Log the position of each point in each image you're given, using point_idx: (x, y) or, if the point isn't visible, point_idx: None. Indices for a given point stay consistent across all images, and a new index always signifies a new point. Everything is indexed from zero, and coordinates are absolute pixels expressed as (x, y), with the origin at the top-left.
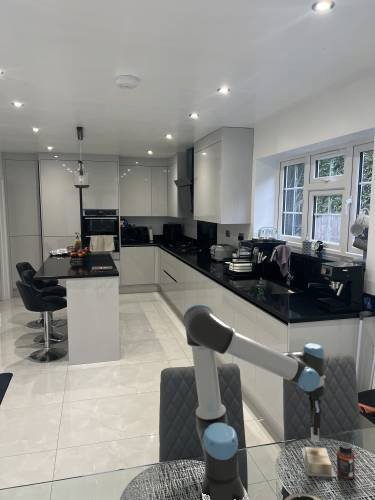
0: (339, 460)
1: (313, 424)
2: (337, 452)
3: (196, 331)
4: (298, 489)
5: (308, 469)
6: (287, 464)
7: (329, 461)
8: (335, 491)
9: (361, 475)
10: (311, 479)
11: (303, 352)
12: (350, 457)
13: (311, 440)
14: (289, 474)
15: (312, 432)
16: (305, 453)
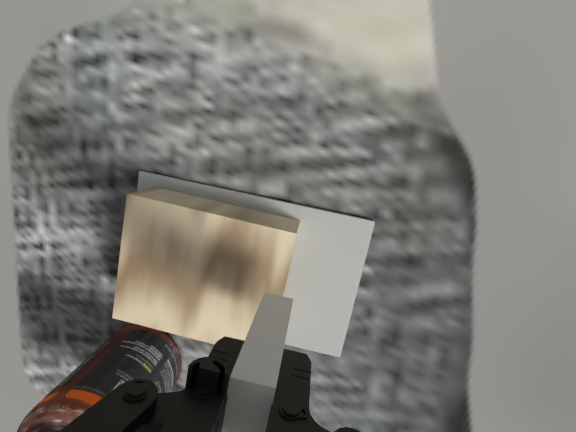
0: (75, 376)
1: (93, 417)
2: (70, 403)
3: None
4: (45, 82)
5: (179, 191)
6: (240, 86)
7: (141, 320)
8: (39, 258)
9: None
10: (115, 179)
11: None
12: None
13: (280, 296)
14: (155, 70)
15: (246, 340)
16: (284, 221)
